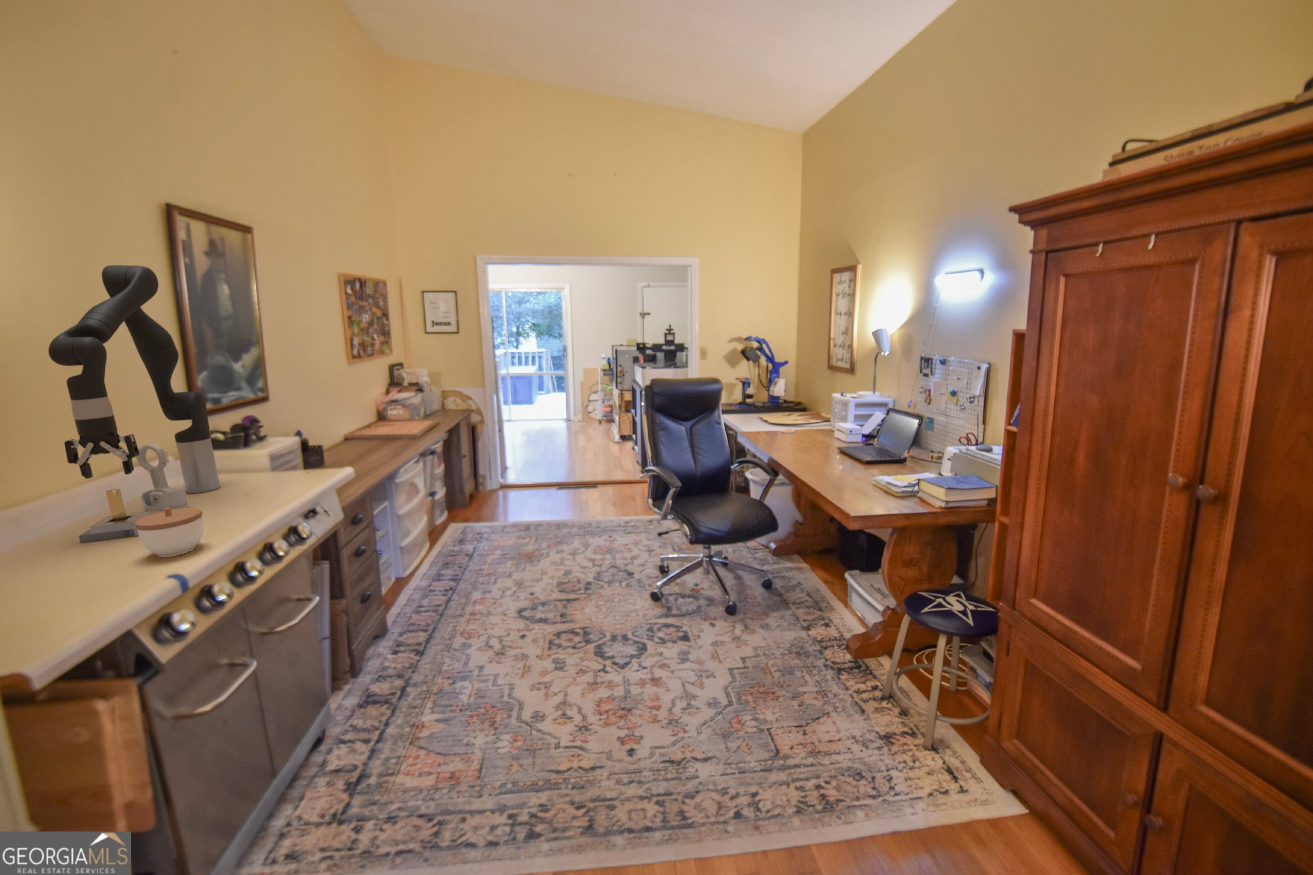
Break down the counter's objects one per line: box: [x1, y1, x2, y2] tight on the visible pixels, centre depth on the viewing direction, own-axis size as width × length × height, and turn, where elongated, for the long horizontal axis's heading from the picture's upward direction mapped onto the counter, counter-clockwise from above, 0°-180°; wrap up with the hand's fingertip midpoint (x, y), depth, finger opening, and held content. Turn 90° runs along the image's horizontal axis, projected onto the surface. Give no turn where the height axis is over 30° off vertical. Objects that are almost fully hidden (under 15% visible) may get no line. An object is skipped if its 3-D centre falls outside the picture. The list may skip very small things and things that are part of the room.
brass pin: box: [105, 488, 127, 522], centre depth 158 cm, size 3×3×12 cm
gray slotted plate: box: [78, 507, 185, 544], centre depth 160 cm, size 9×20×4 cm, turn 109°
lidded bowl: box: [135, 507, 204, 558], centre depth 143 cm, size 13×13×11 cm
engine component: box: [135, 443, 189, 512], centre depth 176 cm, size 11×20×10 cm
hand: (109, 475), depth 156 cm, fingers open, 8 cm apart
